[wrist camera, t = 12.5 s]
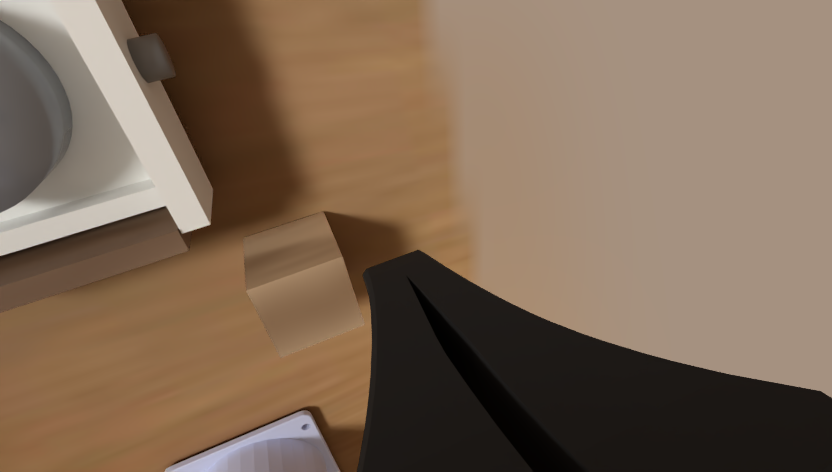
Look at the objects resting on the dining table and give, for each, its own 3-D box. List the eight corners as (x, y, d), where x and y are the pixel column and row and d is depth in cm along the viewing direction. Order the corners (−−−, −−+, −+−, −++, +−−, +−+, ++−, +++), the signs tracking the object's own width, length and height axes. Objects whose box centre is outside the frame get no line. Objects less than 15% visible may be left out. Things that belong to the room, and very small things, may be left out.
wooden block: (344, 273, 22) (364, 324, 18) (272, 299, 21) (280, 358, 18) (323, 211, 20) (342, 256, 16) (242, 238, 19) (246, 290, 16)
